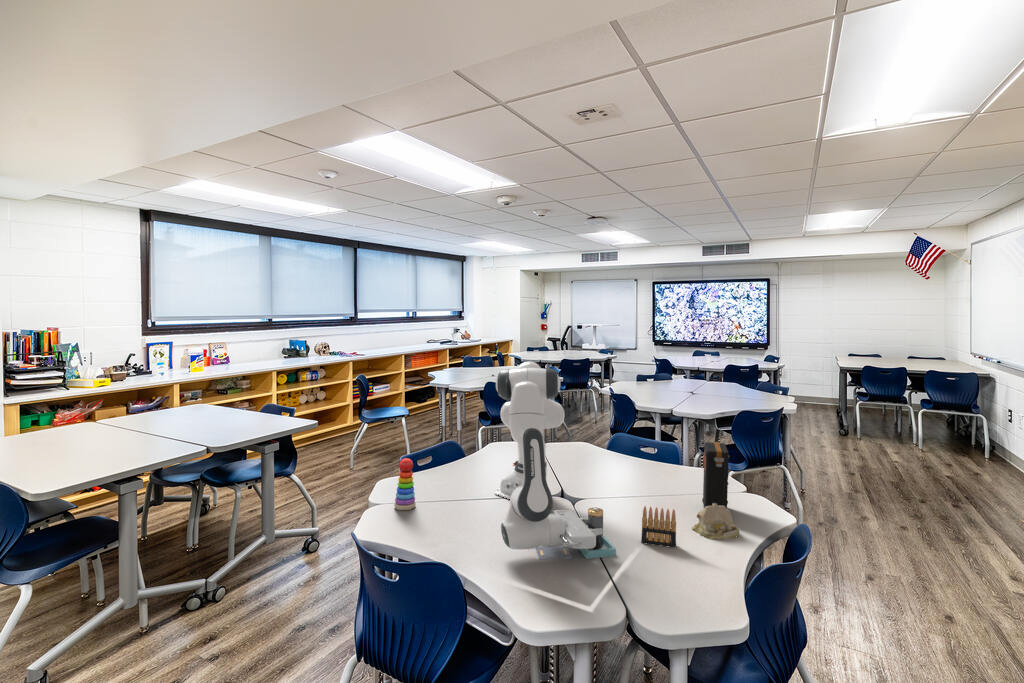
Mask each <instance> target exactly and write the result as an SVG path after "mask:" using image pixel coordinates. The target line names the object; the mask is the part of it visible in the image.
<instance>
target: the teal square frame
mask: <svg viewBox="0 0 1024 683" xmlns="http://www.w3.org/2000/svg"><path fill="white" fill-rule="evenodd" d="M603 547H604V548H601V549H590V550H588V549H578V550H579V551H580V553H582V555H583V556H584V557H585V558H586V560H587V559H596V558H597V559H598V558H604V557H613V556H614V557H615V556H616V555H617V548H616V547H615V546H614V545H613V544H612V543H611V542H610V541H609V540H608V539H607V538H606V537H605V535H603Z"/></svg>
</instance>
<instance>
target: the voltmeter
mask: <svg viewBox="0 0 1024 683" xmlns="http://www.w3.org/2000/svg"><path fill="white" fill-rule="evenodd" d="M703 450H704V451H703V452H704V454H703V486H702V487H703V489H702V493H703V494H702V500H701V502H702V504H703V509H704V508H705V507H706V506H712V504H713V503H714V504H715V503H717V506H725V507H726V508H727V509H728V504H729V500H728V488H729V484H730V483H729V468H730V467H729V459H730V454H729V450H728V448H727V445H726V443H724V442H722V443H720V441H719V442H718V441H713V442H708V441H707V442H705V443H704V445H703Z"/></svg>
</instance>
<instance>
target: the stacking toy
mask: <svg viewBox="0 0 1024 683" xmlns="http://www.w3.org/2000/svg"><path fill="white" fill-rule="evenodd" d="M413 467H414V463H413V460H412V459H410V458H407V457H405V458H402V459H401V461H400V462H399V469H400V471H399V473H398V476H399V477H398V480H397V481H398V482H397V488H396V493H395V498H394V502H395V503H394V505H393V506H394V508H395V509H396V510H398V511H410V510H413V509H414V508H415V507H416V505H417V504H416V497H415V495H416V493H415V491H414V490H415V487H414V486H415V482H414V481H413V480H414V476H413V475H414V473H413V471H412V469H413ZM412 508H413V509H412Z"/></svg>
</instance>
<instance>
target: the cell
mask: <svg viewBox="0 0 1024 683" xmlns="http://www.w3.org/2000/svg"><path fill="white" fill-rule="evenodd" d="M587 519H588V525H587V527H588V528H589V529H595V528H596V527H601V528H602V529H603V530H604V510H603V509H602V508H601V507H596V506H594V507H589V508H588V509H587ZM603 536H604V533H603V534H601V535H597V536H596V546H595V547H594V548H591V550H599V549H603V547H604V545H603Z"/></svg>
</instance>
